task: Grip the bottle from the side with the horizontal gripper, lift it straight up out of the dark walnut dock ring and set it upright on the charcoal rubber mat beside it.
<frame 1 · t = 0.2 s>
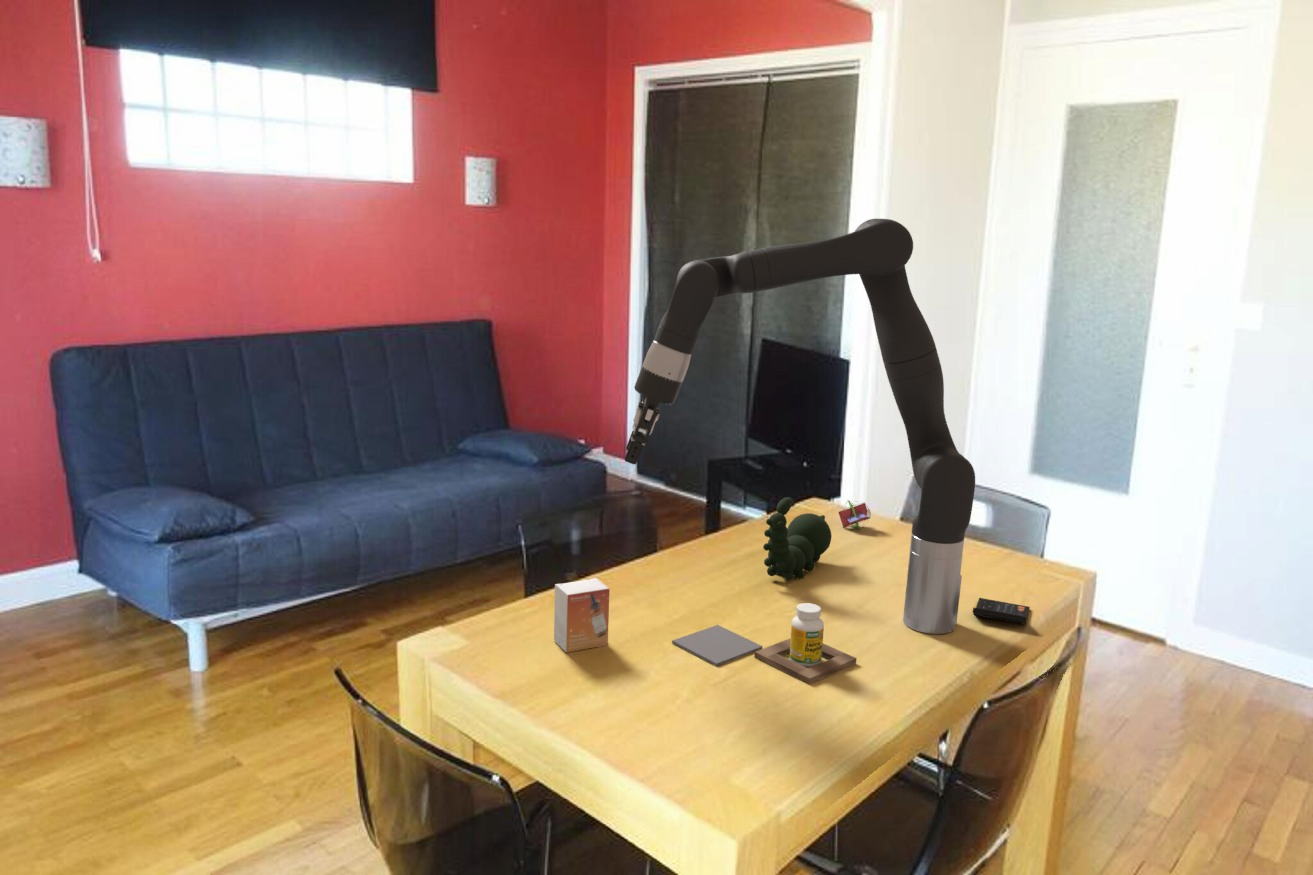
hand: (630, 456, 175), 30 cm above the table, tool tilted 20°, fingers open, 8 cm apart
small box: (580, 644, 170), on the table
supplement bottle: (805, 661, 167), resting in walnut dock
charcoal mat: (716, 645, 171), on the table
black flat block: (1000, 617, 189), on the table
walnut dock: (805, 660, 167), on the table
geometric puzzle: (852, 528, 237), on the table
toy figurine: (796, 571, 208), on the table
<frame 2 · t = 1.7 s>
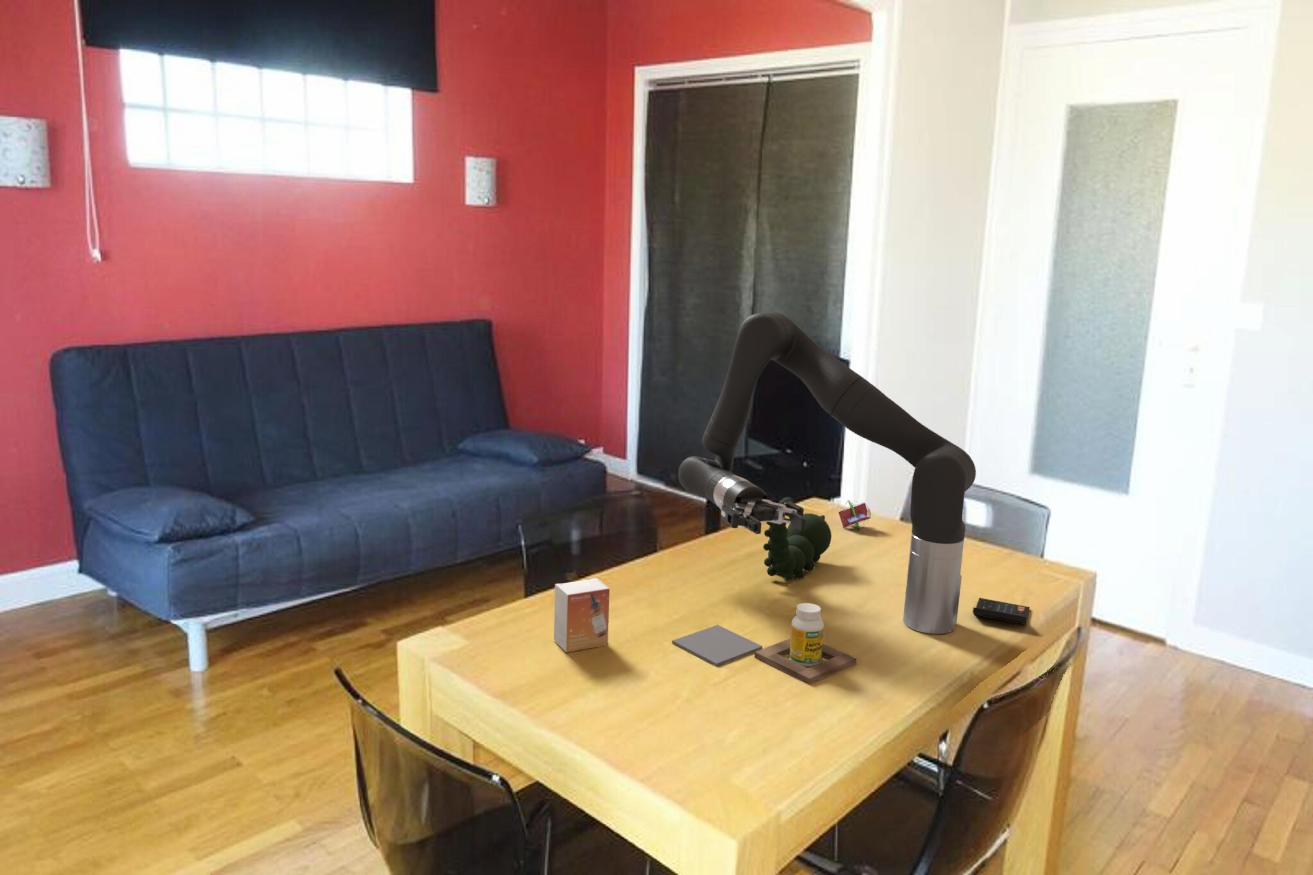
hand: (781, 526, 172), 20 cm above the table, tool horizontal, fingers open, 8 cm apart
nothing on the table moved.
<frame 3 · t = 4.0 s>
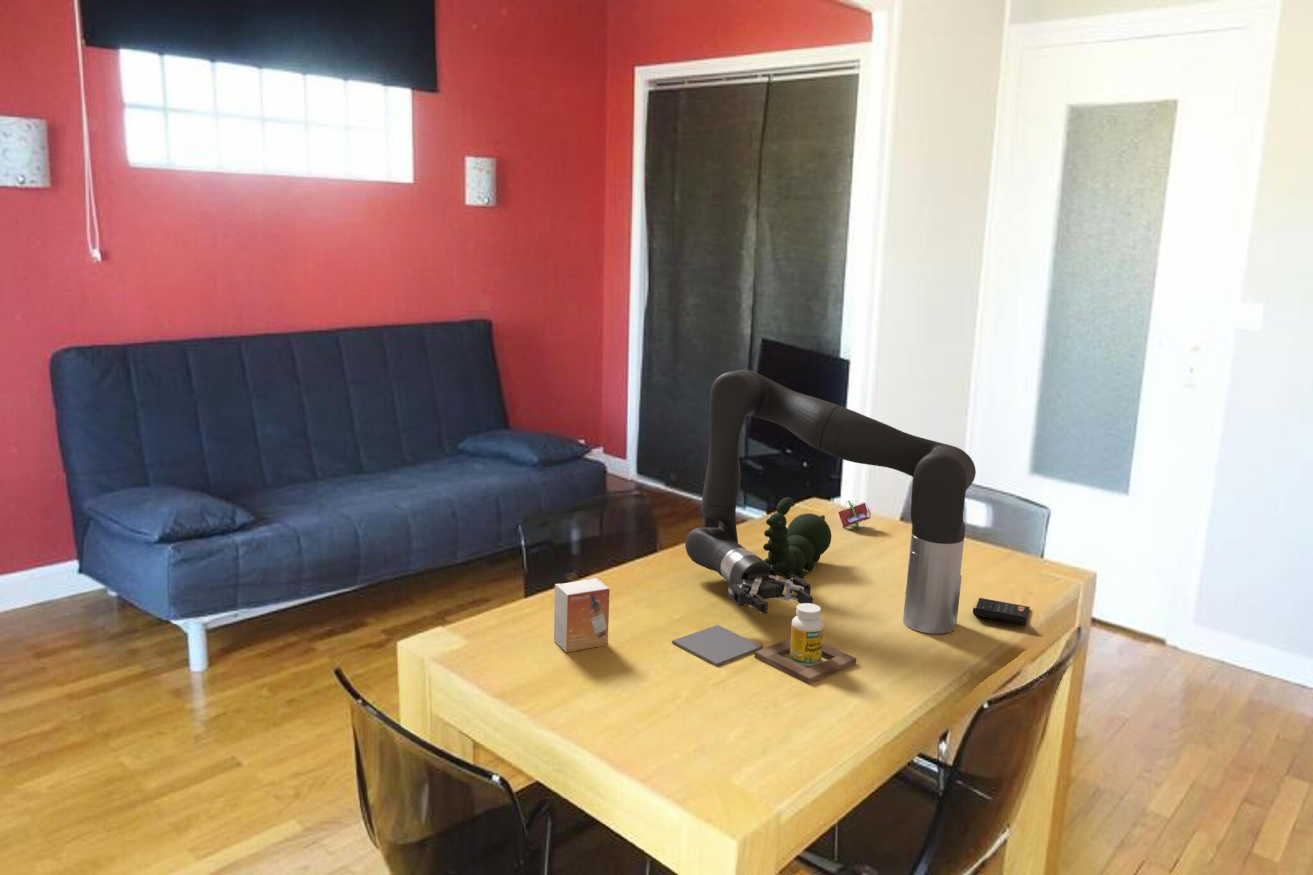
hand: (788, 606, 171), 7 cm above the table, tool horizontal, fingers open, 8 cm apart
nothing on the table moved.
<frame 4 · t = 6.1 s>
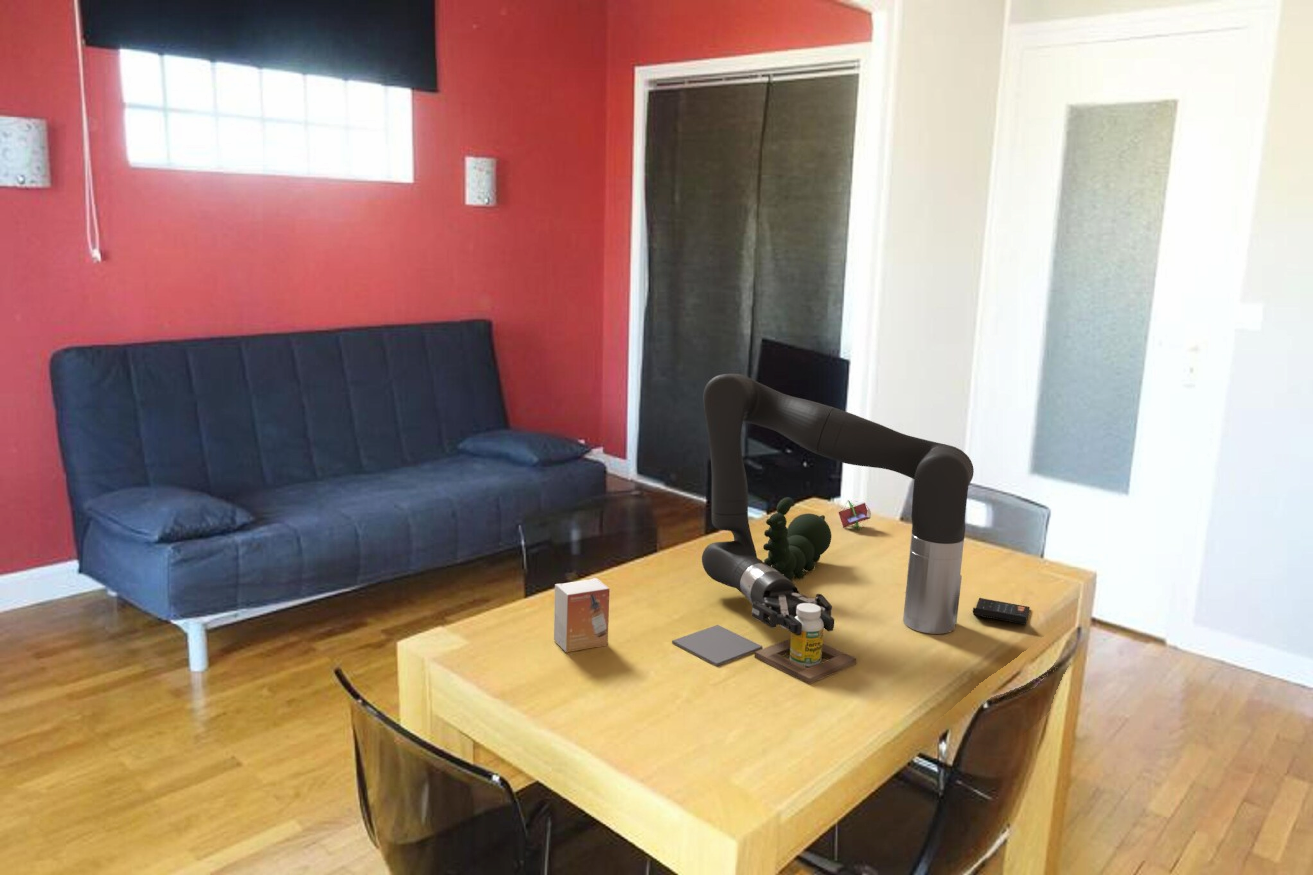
hand: (815, 627, 163), 7 cm above the table, tool horizontal, fingers closed on supplement bottle, 5 cm apart
supplement bottle: (805, 661, 167), resting in walnut dock, touching gripper
everything else where it was.
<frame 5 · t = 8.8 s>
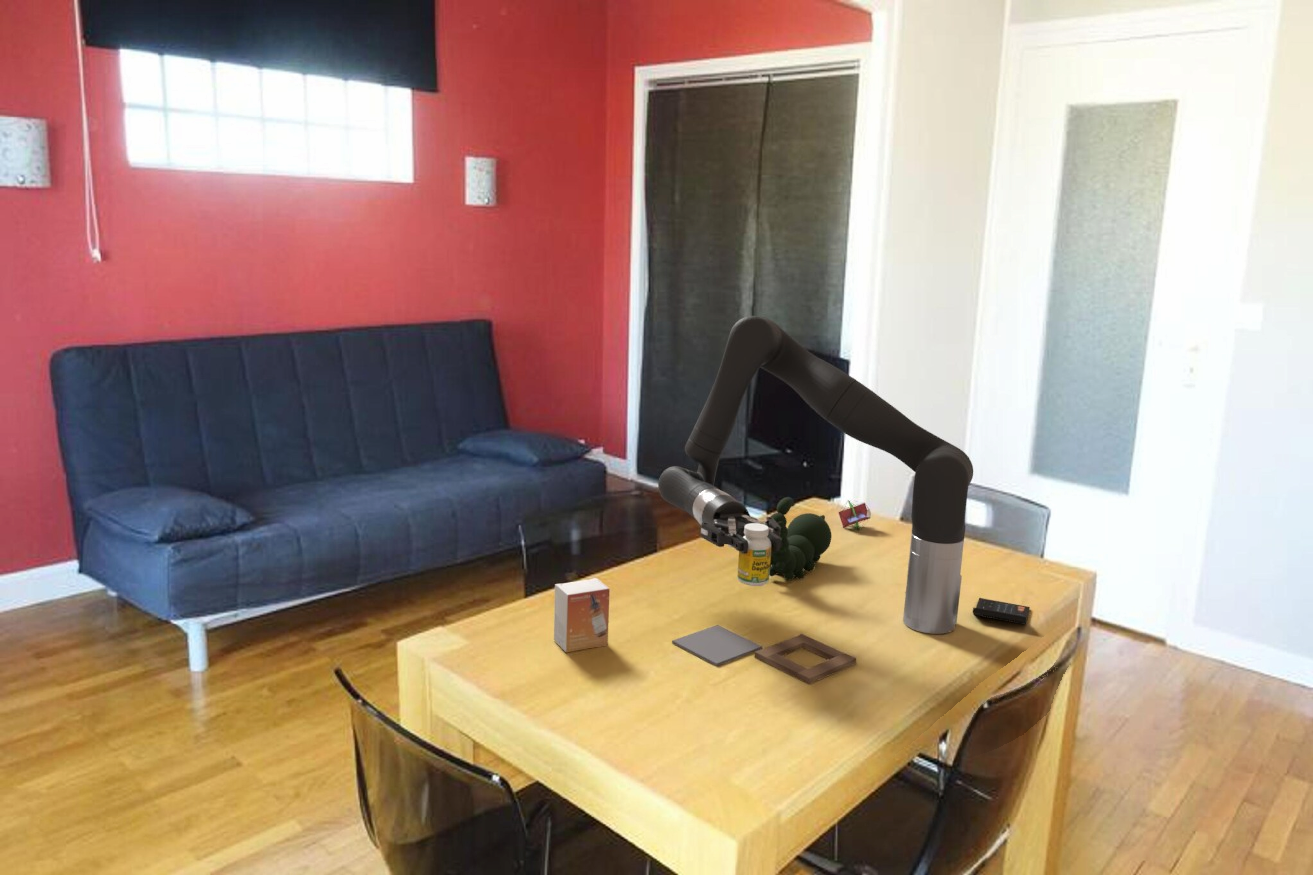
hand: (762, 546, 163), 20 cm above the table, tool horizontal, fingers closed on supplement bottle, 5 cm apart
supplement bottle: (752, 581, 167), point 13 cm above the table, touching gripper
everything else where it was.
when the fingers open (8 cm above the table, at t = 11.9 s): supplement bottle stays where it is, resting on charcoal mat.
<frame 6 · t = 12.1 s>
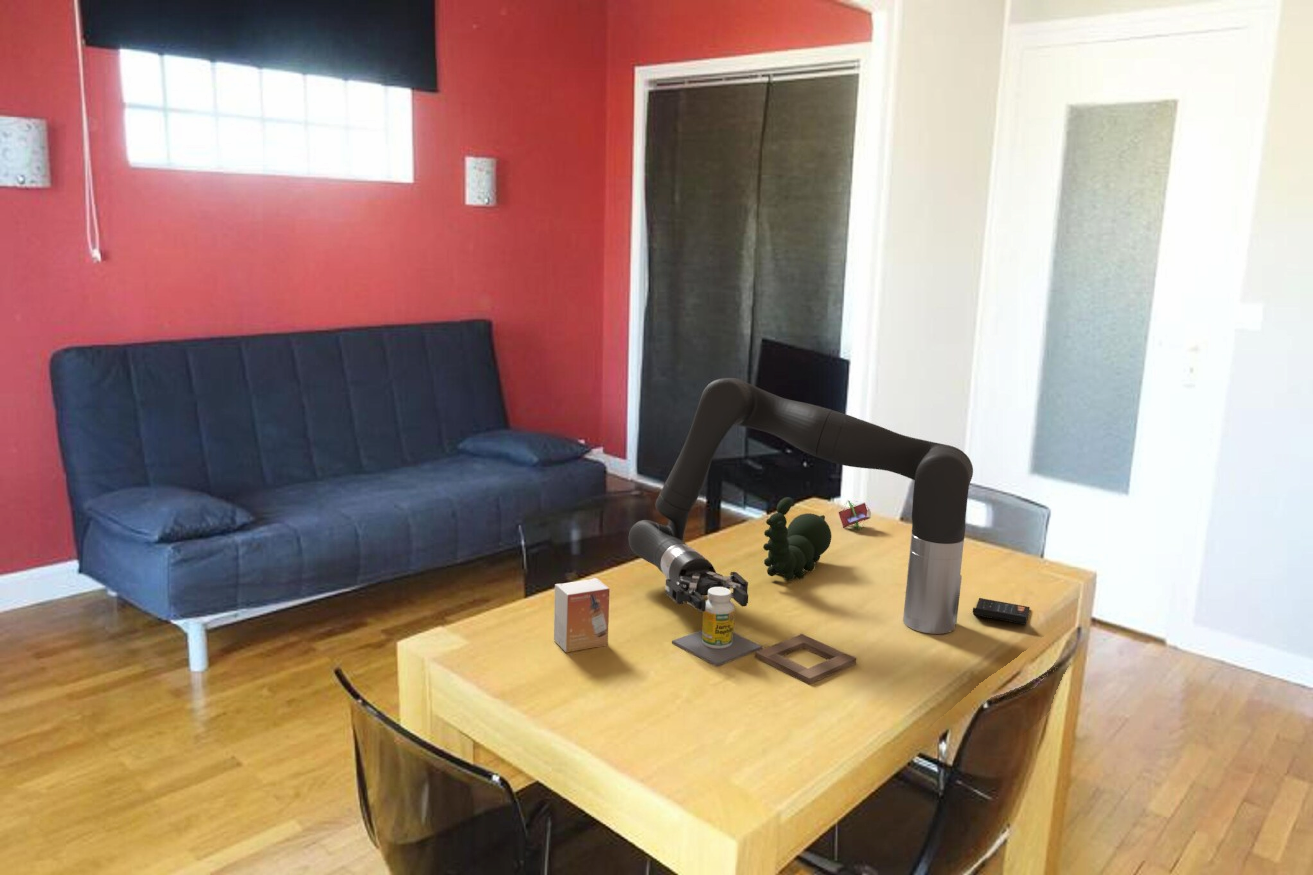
hand: (724, 603, 167), 9 cm above the table, tool horizontal, fingers open, 7 cm apart
supplement bottle: (716, 644, 171), resting on charcoal mat
everything else where it was.
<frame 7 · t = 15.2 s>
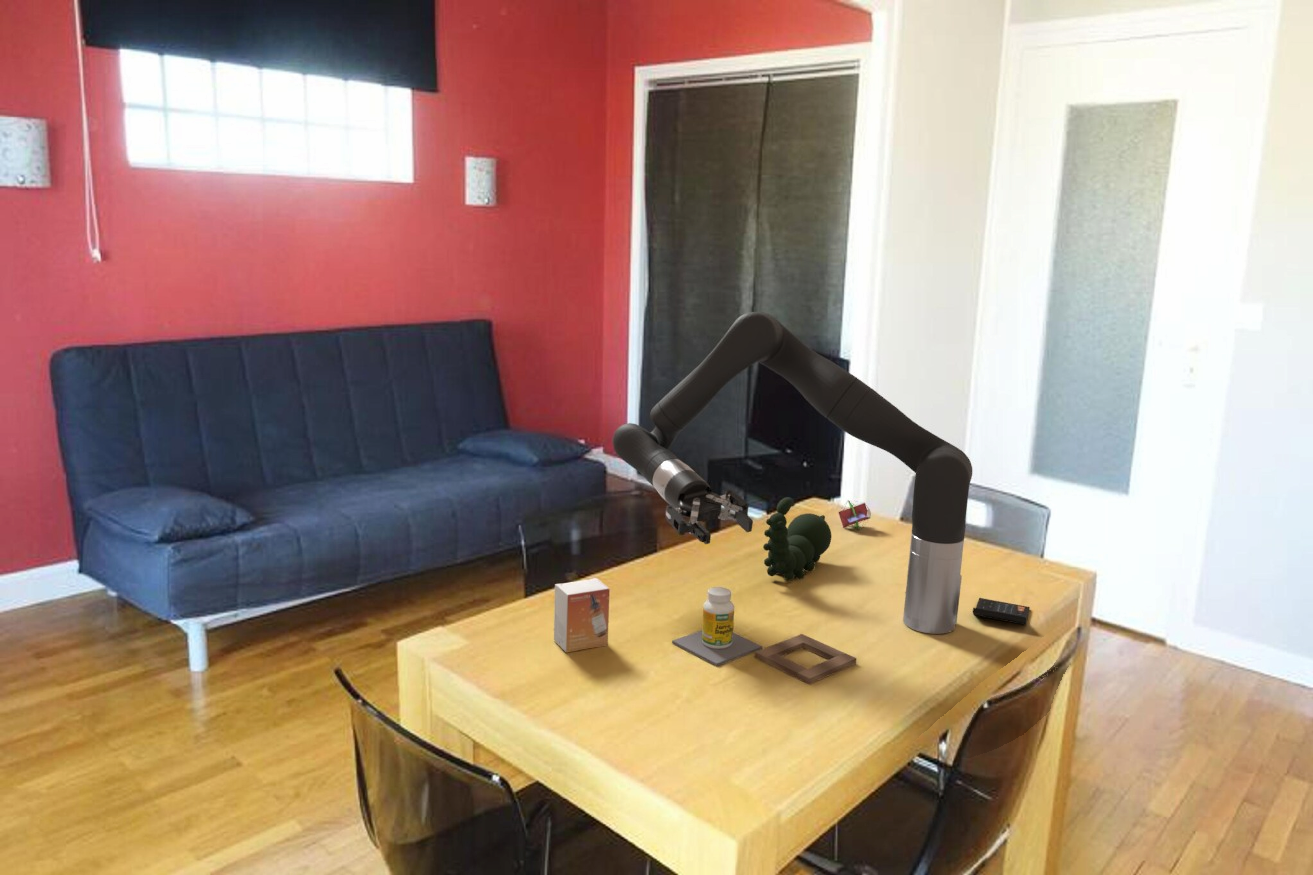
hand: (729, 533, 169), 20 cm above the table, tool horizontal, fingers open, 8 cm apart
nothing on the table moved.
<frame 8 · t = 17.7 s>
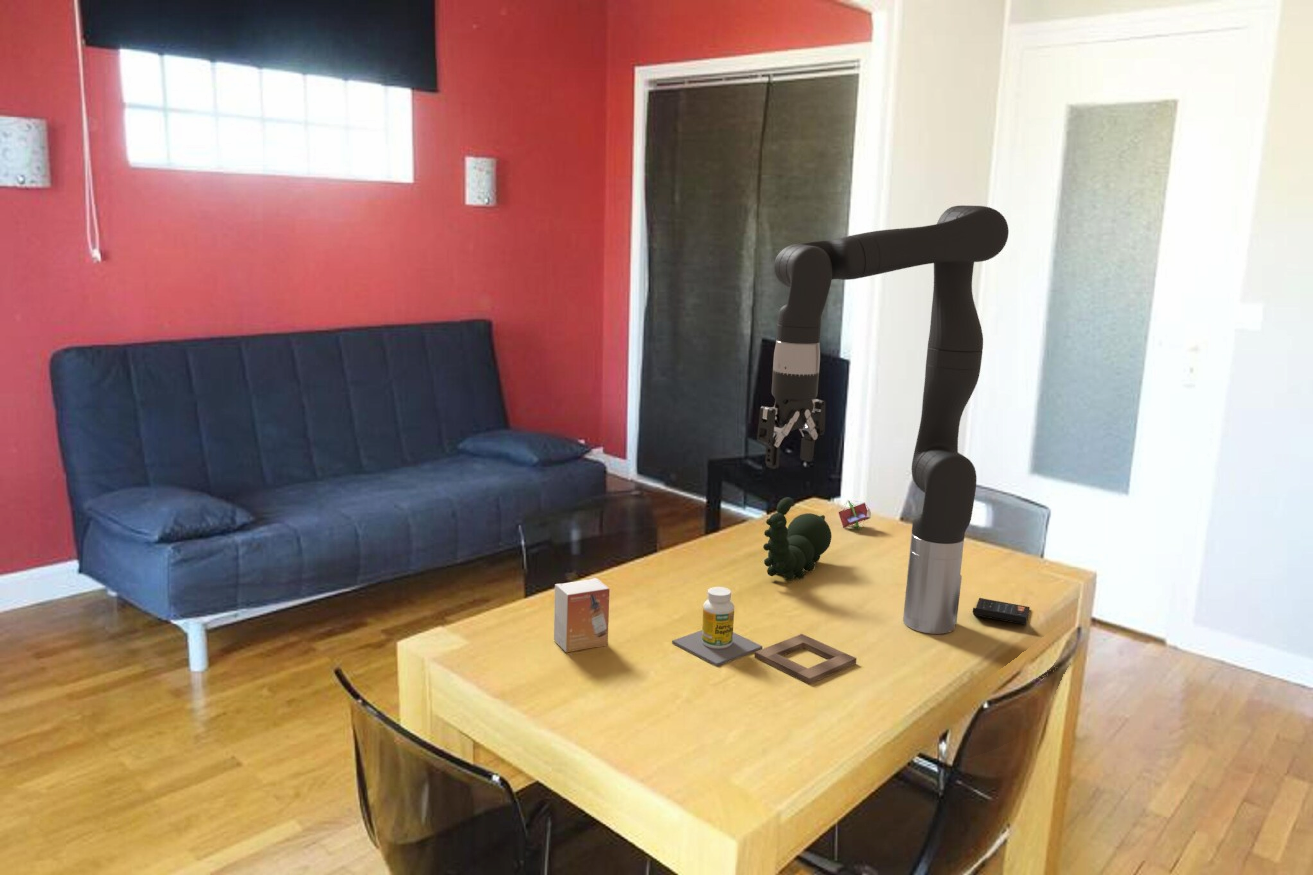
hand: (789, 464, 166), 32 cm above the table, tool pointing down, fingers open, 8 cm apart
nothing on the table moved.
at the end: supplement bottle inside the target area (0.1 cm from its centre), resting on charcoal mat; supplement bottle tilted 0°; the gripper is holding nothing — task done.
